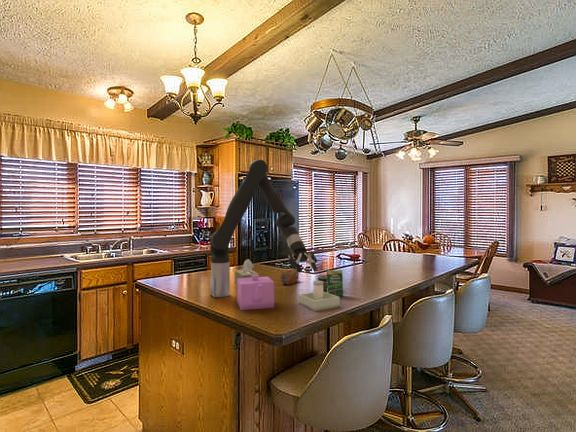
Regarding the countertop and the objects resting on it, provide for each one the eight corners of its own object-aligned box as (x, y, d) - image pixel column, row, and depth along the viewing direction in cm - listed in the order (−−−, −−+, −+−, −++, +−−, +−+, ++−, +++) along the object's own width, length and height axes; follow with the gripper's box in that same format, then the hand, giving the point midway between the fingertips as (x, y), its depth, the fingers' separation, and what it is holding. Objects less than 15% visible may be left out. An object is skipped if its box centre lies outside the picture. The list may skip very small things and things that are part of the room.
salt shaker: (317, 305, 157) (317, 283, 157) (311, 302, 161) (311, 281, 160) (325, 303, 159) (325, 282, 159) (319, 301, 163) (319, 280, 163)
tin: (284, 285, 202) (284, 271, 202) (279, 284, 204) (279, 270, 204) (298, 281, 214) (298, 267, 214) (294, 280, 216) (294, 267, 216)
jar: (335, 293, 184) (335, 278, 183) (316, 292, 185) (316, 278, 185) (336, 288, 193) (336, 275, 193) (318, 288, 195) (318, 274, 195)
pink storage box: (243, 315, 146) (243, 281, 146) (235, 300, 170) (235, 271, 170) (278, 312, 150) (278, 279, 150) (266, 298, 174) (266, 270, 174)
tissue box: (259, 288, 196) (259, 260, 195) (243, 289, 192) (242, 261, 191) (250, 282, 213) (250, 256, 213) (234, 283, 209) (234, 257, 209)
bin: (314, 311, 151) (314, 301, 151) (298, 303, 162) (298, 294, 162) (339, 306, 157) (339, 297, 157) (322, 300, 169) (322, 290, 169)
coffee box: (327, 296, 176) (327, 271, 175) (326, 295, 178) (326, 270, 178) (343, 296, 176) (343, 271, 175) (342, 295, 178) (342, 270, 178)
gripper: (286, 240, 170) (298, 267, 161) (310, 239, 177) (323, 265, 168) (281, 250, 175) (292, 276, 165) (305, 249, 182) (317, 274, 172)
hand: (308, 271), depth 167 cm, fingers open, 8 cm apart
